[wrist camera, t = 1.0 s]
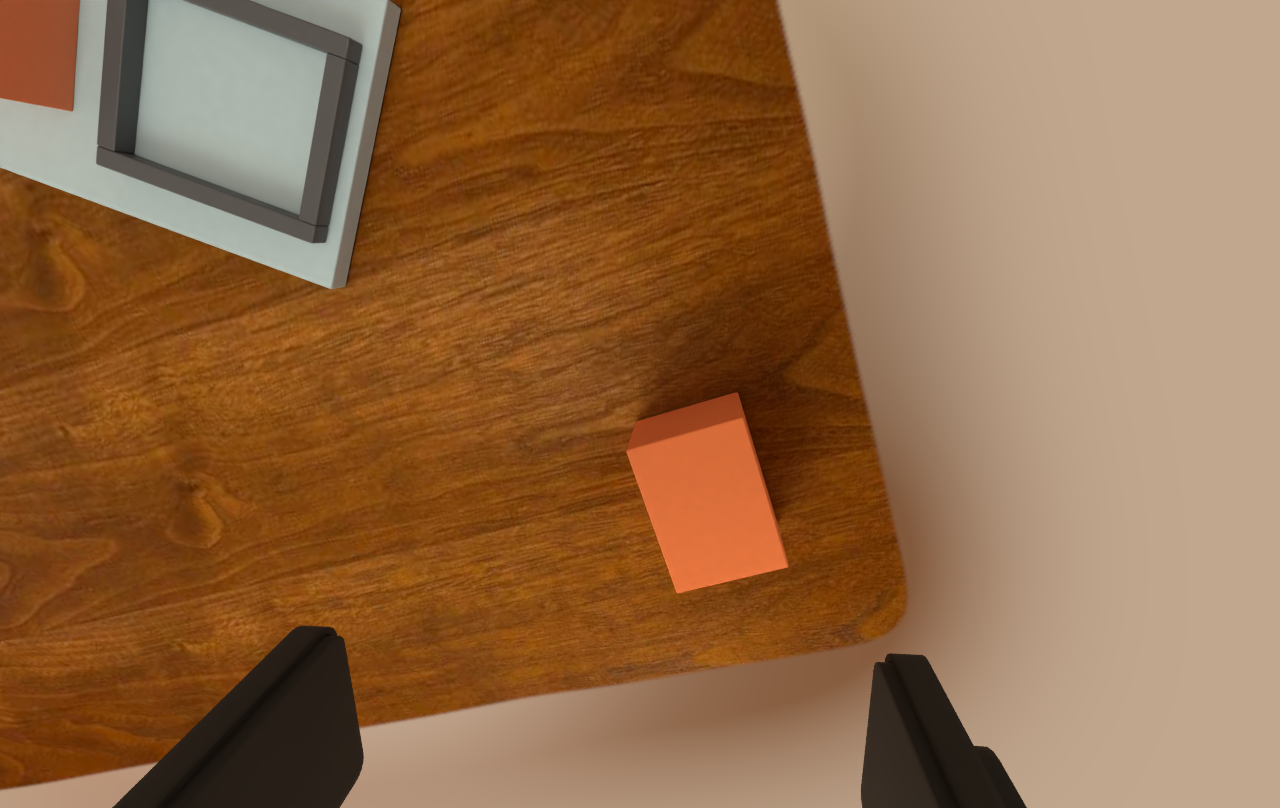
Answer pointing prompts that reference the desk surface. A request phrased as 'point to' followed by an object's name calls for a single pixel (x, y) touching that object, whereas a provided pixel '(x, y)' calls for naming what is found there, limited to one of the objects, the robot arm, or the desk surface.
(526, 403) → the desk surface
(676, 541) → the orange rectangular block
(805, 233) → the desk surface
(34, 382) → the desk surface
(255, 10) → the gray fixture board
